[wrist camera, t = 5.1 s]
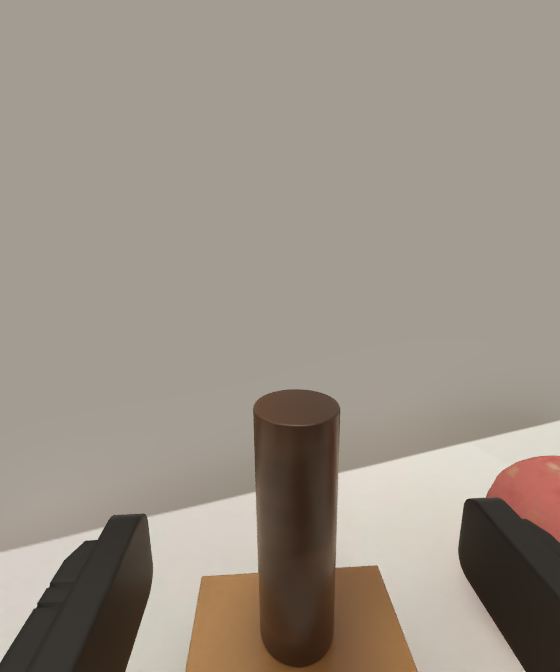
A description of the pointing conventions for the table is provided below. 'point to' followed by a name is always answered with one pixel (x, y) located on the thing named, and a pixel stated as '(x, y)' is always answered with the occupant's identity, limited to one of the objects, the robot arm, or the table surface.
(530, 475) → the apple
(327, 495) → the wooden handled stamp
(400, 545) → the table surface
